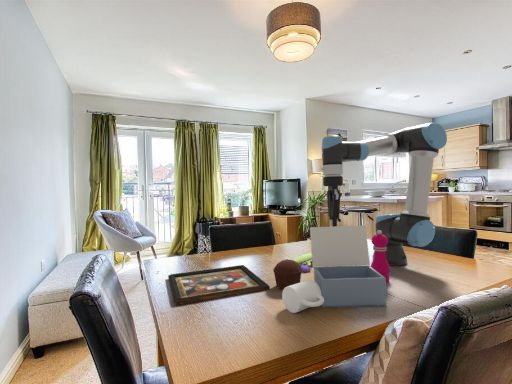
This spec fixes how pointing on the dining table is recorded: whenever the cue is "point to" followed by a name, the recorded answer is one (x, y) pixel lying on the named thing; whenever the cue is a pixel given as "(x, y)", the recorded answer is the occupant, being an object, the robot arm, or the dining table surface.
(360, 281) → the box
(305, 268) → the figurine
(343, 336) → the dining table surface
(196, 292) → the framed painting
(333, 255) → the lid
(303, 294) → the mug
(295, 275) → the muffin
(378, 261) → the pepper mill
